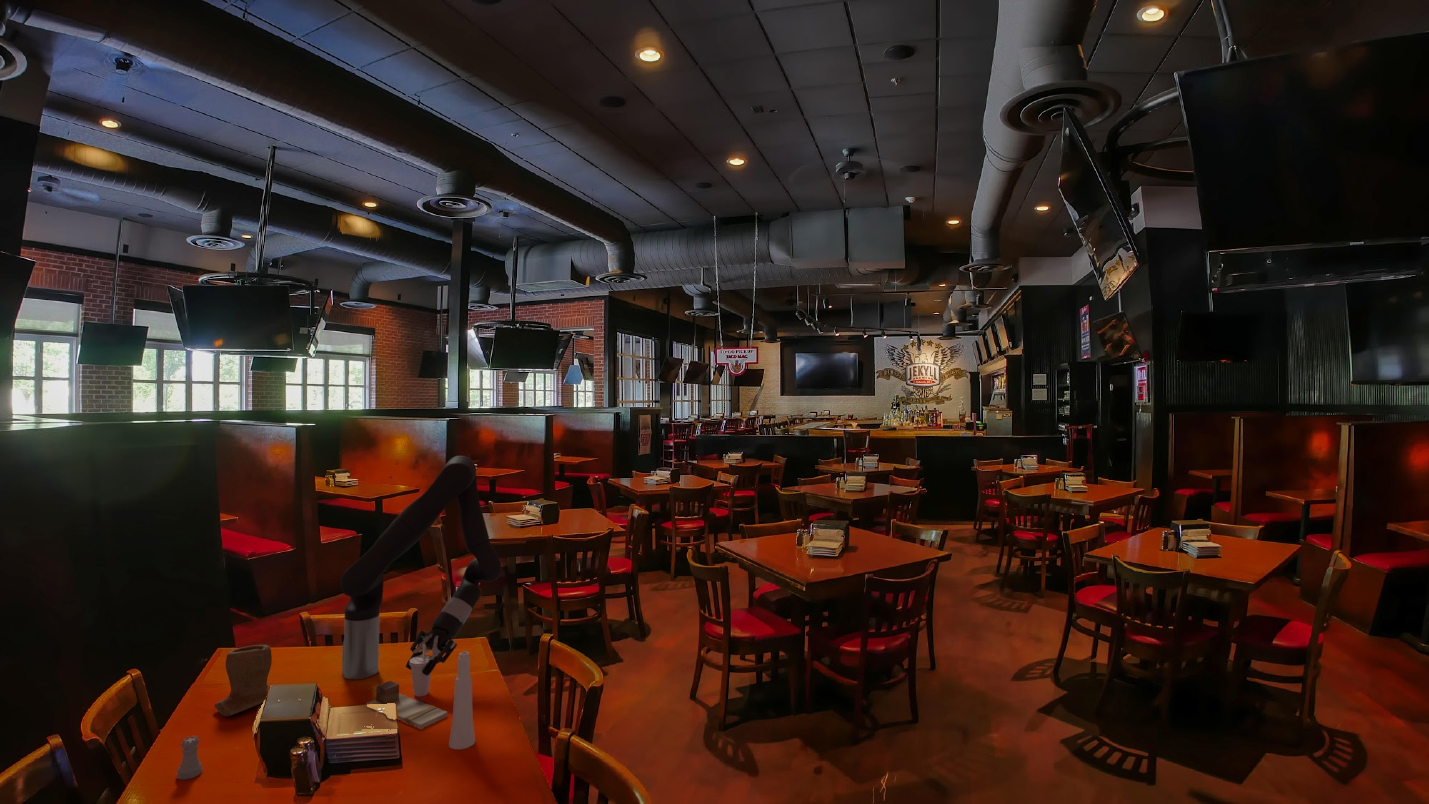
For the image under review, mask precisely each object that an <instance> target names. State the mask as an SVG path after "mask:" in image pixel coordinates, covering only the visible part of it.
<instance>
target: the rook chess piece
mask: <svg viewBox="0 0 1429 804" xmlns="http://www.w3.org/2000/svg"><path fill="white" fill-rule="evenodd" d="M200 741H201V740H200V739H198V736H197V735H191V736H187V737H186V738H183V739H182V742H181V744H180V747H181V748H182V749H183V750H182V751H181V753H182V761H181V763H180V765H179V767H178V768H177V771H176V777H177V779H178V780H181V781H187V780H191V779H194V778H196V777H198V776H200V775H201V773H202V772H203V763H202V762H200V760H199V757H198V749H199V747H198V744H199V743H200Z"/></svg>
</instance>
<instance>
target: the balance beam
mask: <svg viewBox="0 0 1429 804" xmlns="http://www.w3.org/2000/svg"><path fill="white" fill-rule="evenodd" d="M375 688H376V689H375V699H373V700H371V701H368V702H366V705H367V704H387V703H395V704H396V706H397V714H398V719H400V720H401V721H405V722H406V723H408V724H411V725H413V726H416V727H417V728H416V727H415V728H416V729H418V728H419V730H422V729H425V728H426V726H427V727H429V726H431V725H433V724H435V723H437V722H439V721H441V720H443V719H446V718H447V717H448V711H446V710H443V709H441V708H438V707H437V706H434V705H431V704H428V703H427V701H426V700H424V699H423V700H422V699H420V698H418V699H414V698H412V697H409V696H407V695H403V694H401V693H400V683H397V682H394V681H392V680H388V681H386V682H383V683H380V684H378V685H376V686H375ZM401 721H400V722H401ZM406 723H405V724H406ZM408 724H407V725H408ZM430 724H431V725H430ZM411 725H410V726H411ZM428 725H429V726H428ZM413 726H412V727H413ZM424 727H425V728H424Z"/></svg>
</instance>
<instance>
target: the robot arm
mask: <svg viewBox="0 0 1429 804" xmlns="http://www.w3.org/2000/svg"><path fill="white" fill-rule="evenodd" d="M476 467H477V466H476V464H475V462H474V461H473V460H472V459H471V458H469V457H467V456H466V455H456V456H453V457H451V458H450V459H449V460H448V461H447V462H446V464H445V465H444V466H443V468H442V469H441V471H440V473H439V474H438V476H437V477H436V478H435V480H434V481H433V482H432V483H431V484H430V486H429V487H428V488H427V489H426V491H424V492H423V493H422V494H421V495H420V496H419V497H417V498H416V499H414V501H412V502H411V503H410V504H408V505H407V506H406V507H405V508H404V509H403V510H402V511H401V512H400V513H399V514H398V515H397V516H395V517H396V518H394V519H393V521H392V522H391V523H390V524H389V525H388V527H387V528H385V530H384V531H383V532H382V533H381V534H380V536H378V538H377V539H376V541H375V542H374V544H373V545H372V546H371V547H370V548H369V549H368V550H367V551H366V552H365V553H364V554H363V555H362V556H361V557H360V558H359V559H357V560H356V561H355V562H354V563H353V564H352V565H350V566H349V567H348V568H347V569H345V571H344V572H343V574H342V576H341V578H340V580H339V581H340V583H339V585H340V589H341V592H342V593H343V594H344V595H345V596H348V597H350V599H349V601H348V603H347V605H346V607H345V610H344V629H343V630H344V633H343V634H344V636H343V637H344V639H343V642H342V660H341V661H342V662H341V664H342V665H341V667H342V669H341V673H342V674H343V676H342V677H344V679H346V680H347V679H348V680H361V679H362V680H363V679H367V678H370V677H372V676H374V675H376V674H377V673H378V672H379V661H380V660H379V658H380V657H379V655H380V654H379V653H380V651H379V649H380V610H381V606H382V603H383V599H384V597H383V595H384V583H385V582H384V580H385V576H384V572H385V570H386V569H387V568H388V567H389V566H390V565H391V564H392V563H394V562H395V561H396V560H398V558H400V557H401V556H403V555H404V554H405V553H406V552H407V551H409V550H410V548H412V547H413V546H415V544H416V543H418V541H420V539H421V538H422V537H423V536H424V535H425V534H426V533H427V532H428V531H429V530H430V528H431V527H432V526H433V525H434V523H435V522H436V520H438V518H439V517H440V515H441V513H443V511H444V510H445V509H446V507H448V506H449V504H451V503H452V502H453V501H454V500H455V499H457V503H458V509H459V520H460V528H461V529H460V530H461V533H462V536H463V540H464V544H465V548H466V551H467V552H468V553H469V554H470V555H472V556H474V557H475V558H473V559H472V560H471V561H470V562H469V563H468V564H467V566H466V568H465V570H464V573H463V575H462V578H461V581H460V584H459V586H458V588H457V589H456V590H455V591H454V593H453V595H451V597H450V598H449V600H448V601H447V602H446V603H445V605H444V607H443V608H442V609H441V611H440V612H439V614H437V617H435V619H434V621H433V622H432V624H431V627H432V628H431V630H430V631H428V632H425V631H424V630H421V631H420V632H419V633H418V635H417V637H416V638H415V640H414V641H413V643H412V645H411V646H410V651H411V652H412V654H411V656H410V658H409V659H408V661H407V662H406V664H405V667H406V668H407V669H408V670H409V671H411V666H410V665H409V663H410V660H411V659H412V658H413V657H416V656H420V655H423V644H425V654H427V653H429V652H430V651H431V652H432V653H431V656H432V657H431V659H432V660H429V661H428V663H427V664H426V666H425V667H424V669H423V670H422V673H423V674H424V675H426V676H428V675H429V674H430V673H431V674H432V672H433V670H434V668H435V667H436V665H438V664H439V663H442V664H444V663H446V661H447V660H448V659H449V657H450V656H451V654H452V653H453V651H455V649H456V648H457V646H458V644H457V642H456V641H454V640H453V638H456V636H457V635H458V634H459V632H460V630H461V629H462V628H463V626H464V625H465V623H466V621H467V619H468V618H469V616H470V614H471V612H472V611H473V609H474V607H475V606H476V604H477V602H478V601H479V599H480V597H481V596H482V590H481V588H479V585H480V584H481V582H487V583H492V582H494V581H497V580H498V579H499V578H500V576H501V573H502V562H501V559H500V557H499V555H498V553H497V551H496V550H495V549H494V548H495V547H494V546H493V545H492V543H491V541H490V535H489V531H488V529H487V525H486V521H485V517H484V514H483V511H482V507H481V502H480V496H479V491H478V481H477V468H476Z"/></svg>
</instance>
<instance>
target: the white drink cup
mask: <svg viewBox="0 0 1429 804" xmlns="http://www.w3.org/2000/svg"><path fill="white" fill-rule="evenodd" d="M425 647H426V644H423V655H420V656H416V657H413V658H412V659H411V660H410V663H409V665H410V666H411V670H410V671H411V672H410V673H411V680H412V689H413V695H414V697H425V696H426V695H428V694H429V691H430V683H431V679H432V678H431V676H432V672H431V673H430V674H429V675H428V676H426V675H424V674H423V673H422V670H423V669H424V667H425V666H426V664H427V663H428V661H429V660H432V659H431V657H432V654H431V655H430V654H426V653H425Z"/></svg>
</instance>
